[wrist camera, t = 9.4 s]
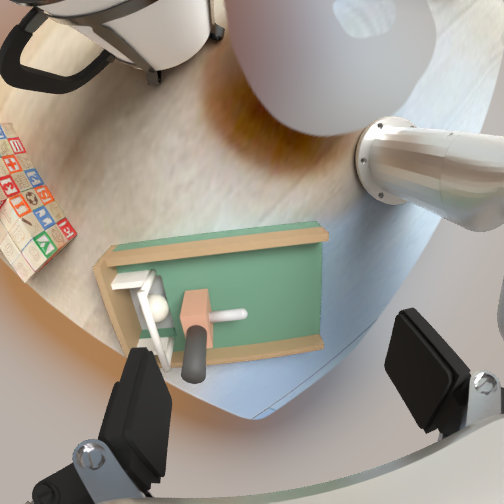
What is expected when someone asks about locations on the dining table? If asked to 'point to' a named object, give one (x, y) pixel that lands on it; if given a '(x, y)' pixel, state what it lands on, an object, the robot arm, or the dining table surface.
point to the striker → (200, 331)
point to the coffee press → (113, 37)
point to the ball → (158, 307)
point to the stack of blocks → (27, 211)
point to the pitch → (220, 291)
